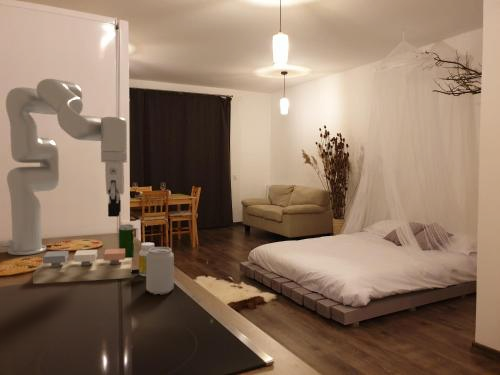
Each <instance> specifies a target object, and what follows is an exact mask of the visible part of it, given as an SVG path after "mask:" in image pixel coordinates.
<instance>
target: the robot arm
mask: <svg viewBox="0 0 500 375" xmlns="http://www.w3.org/2000/svg"><path fill="white" fill-rule="evenodd" d="M83 106H84V104H83V93H82V89H81V88H80V86H79V85H78V84H76V83H74V82H70V81H68V80H67V81H66V80H61V79H55V78H45V79H42V80H41V81H39V82H38V83H37V86H36V88H31V87H15V88H12V89H10V90H9V91H8V93H7V95H6V98H5V110H6V113H7V117H8V120H9V127H10V130H9V133H10V153H11V157H12V159H13V160H14V161H15V162H16V163H22V164H39V166H33V165H32V166H19V167H14V168H12V169H11V170H9V171H8V172H7V175H6V182H7V188H8V191H9V196H10V197H9V199H10V208H11V209H10V210H11V211H10V212H11V213H10V215H11V237H12V238H11V239H10V240H9V241H8V240H6V241H5V240H2V241H1V240H0V247H1V248H8V249H7V253H8V254H9V255H12V256H27V255H28V256H29V255H35V254H39V253H40V254H41V253H43V252H45V251H47V245H45V244H43V243H42V211H41V209H42V208H41V202H40V200H39V198H38V197H37V195H35V193H36V192H50V191H53V190H55V189H56V188H57V187H58V185H59V182H60V181H59V180H60V173H59V172H60V169H59V167H60V166H59V164H60V162H59V161H60V160H59V157H60V156H59V149H58V146H57V144H56V142H55V141H54V140H53V139H51V138H49V137H38V125H37V123H36V121H35V118H34V117H33V116H32V115H31V114H30V113H33V114H41V115H51V116H53V115H55V116H57V122H58V125H59V127H60V128H61V129H62V130H63V132H65V133H66V134H67V135H68V136H70V137H71V138H72V139H75V140H78V141H91V142H92V141H93V142H100V154H101V155H100V163H105V165H104V166H105V167H104V168H105V170H104V171H105V188H106V189H105V190H106V191H105V192H106V195H108V203H107V213H108V214H107V216H108V217H109V218H110V217H113V218H115V217H118V218H119V216H120V213H121V208H122V206H121V201H122V200H121V196H122V195H124V193H125V168H124V165H125V164H124V163H127V162H128V161H127V160H128V159H127V158H128V155H127V154H128V153H127V152H128V151H127V149H128V148H127V147H128V144H127V142H128V139H127V136H128V135H127V133H128V132H127V128H128V126H127V125H128V122H127V120H126V119H125V118H124V117H120V116H104V117H99V116H98V117H97V116H92V115H91V116H90V115H82V114H81V112H83V108H84V107H83Z"/></svg>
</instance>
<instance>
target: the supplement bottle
mask: <svg viewBox="0 0 500 375" xmlns="http://www.w3.org/2000/svg"><path fill="white" fill-rule="evenodd" d="M140 246H141V250H139V253H138V273H139V275H140V276H142V277H146V255H147V254H148V253H149V249H151V248H154V247H155V243H154V242H142V243H140Z"/></svg>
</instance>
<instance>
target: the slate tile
mask: <svg viewBox="0 0 500 375" xmlns="http://www.w3.org/2000/svg"><path fill="white" fill-rule="evenodd" d="M68 258H69V250H57V251H56V250H54V251H46V253H44V255H43V256H42V262H43V263H51V267H60V266H61V263H63V262H66V261H68Z"/></svg>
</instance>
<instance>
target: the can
mask: <svg viewBox="0 0 500 375" xmlns="http://www.w3.org/2000/svg"><path fill="white" fill-rule="evenodd" d="M174 255H175V254H174V252H172V248H171V247H167V246H154V248H151V249H149V253H148V254H147V255H146V276H145V277H146V279H145V280H146V285H145V287H146V291H147V292H149V293H150V294H151V293H153V294H152V295H157V294H160V295H165V294H169V293H170V292H172V290H173V289H174V287H175V286H174V282H175V280H174V276H175V275H174V273H175V272H174V265H175V264H174V263H175V261H174V260H175V259H174V258H175V256H174Z"/></svg>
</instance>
